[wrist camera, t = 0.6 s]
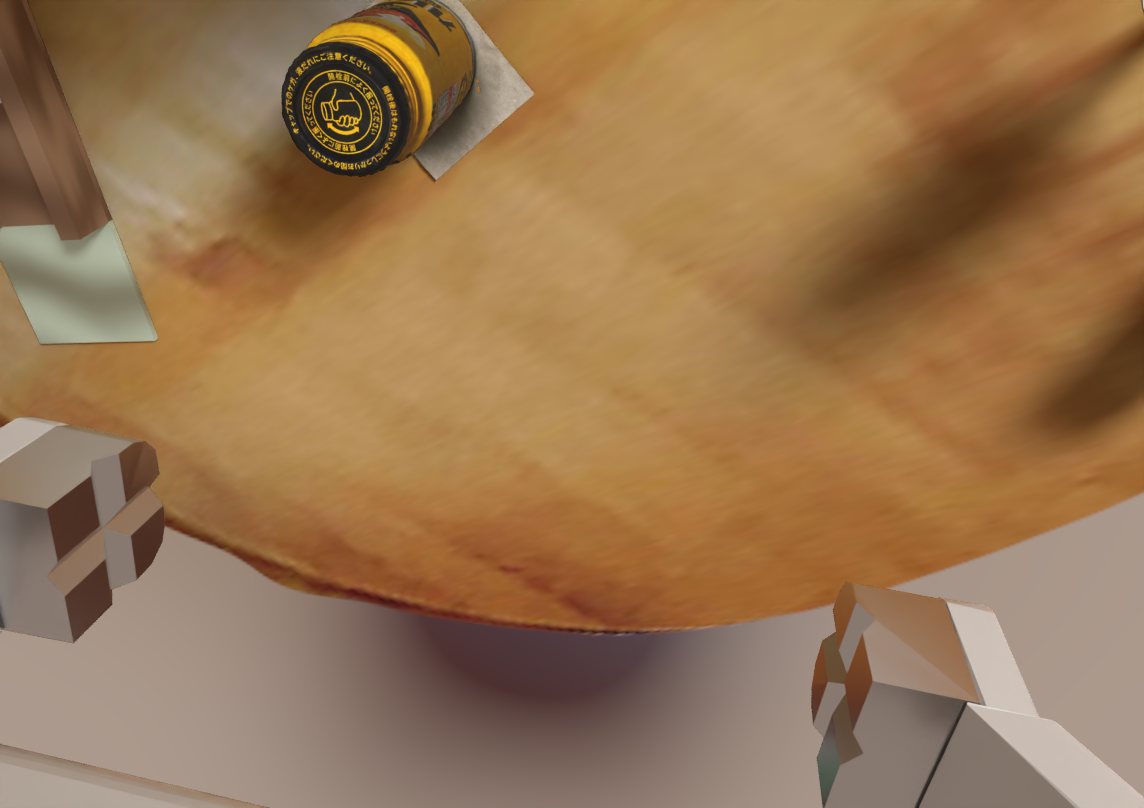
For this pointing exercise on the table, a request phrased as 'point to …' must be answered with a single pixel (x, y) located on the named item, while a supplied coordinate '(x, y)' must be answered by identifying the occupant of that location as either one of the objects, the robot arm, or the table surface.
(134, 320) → the chute
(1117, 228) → the table surface
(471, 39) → the condiment
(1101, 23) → the table surface
